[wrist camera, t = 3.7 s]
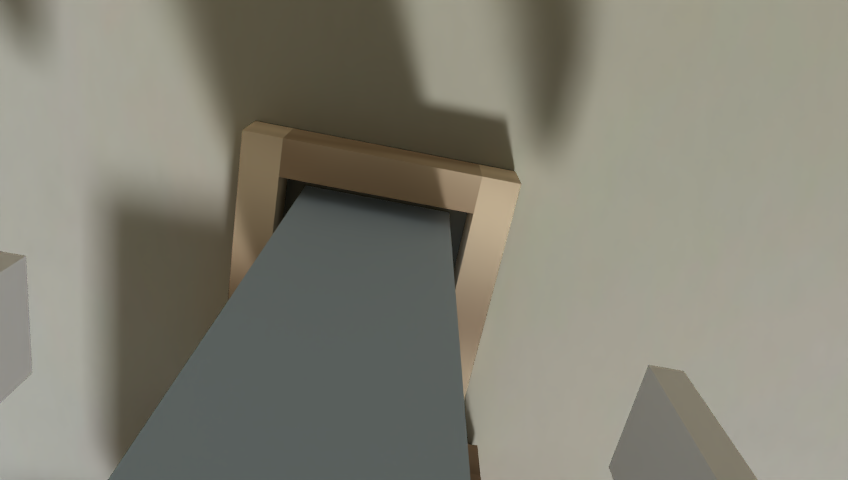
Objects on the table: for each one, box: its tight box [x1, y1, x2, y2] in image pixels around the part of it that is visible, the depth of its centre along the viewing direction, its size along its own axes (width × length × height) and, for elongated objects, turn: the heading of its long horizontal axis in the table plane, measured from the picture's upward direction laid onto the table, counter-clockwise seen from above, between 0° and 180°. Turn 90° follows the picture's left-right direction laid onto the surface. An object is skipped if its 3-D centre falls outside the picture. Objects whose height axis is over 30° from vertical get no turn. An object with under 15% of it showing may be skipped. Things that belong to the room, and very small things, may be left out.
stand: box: [228, 121, 521, 399], centre depth 17 cm, size 7×7×1 cm
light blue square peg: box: [108, 186, 470, 480], centre depth 12 cm, size 4×4×12 cm
